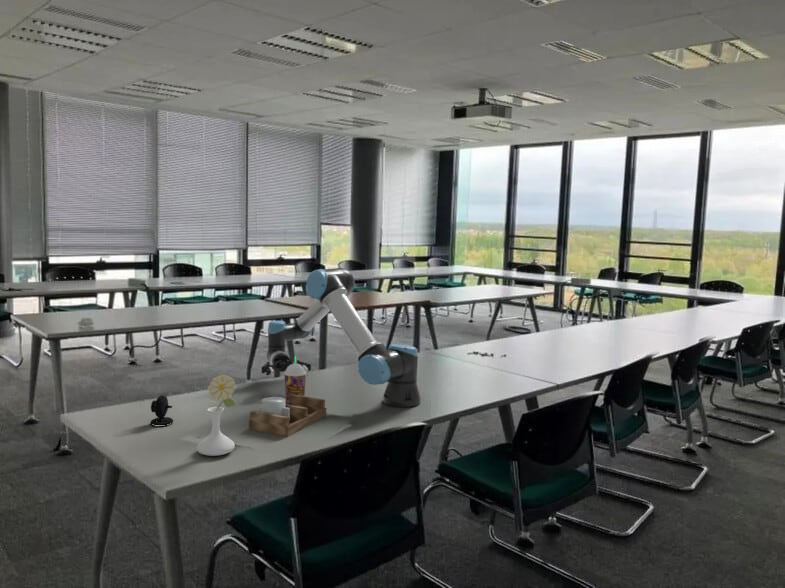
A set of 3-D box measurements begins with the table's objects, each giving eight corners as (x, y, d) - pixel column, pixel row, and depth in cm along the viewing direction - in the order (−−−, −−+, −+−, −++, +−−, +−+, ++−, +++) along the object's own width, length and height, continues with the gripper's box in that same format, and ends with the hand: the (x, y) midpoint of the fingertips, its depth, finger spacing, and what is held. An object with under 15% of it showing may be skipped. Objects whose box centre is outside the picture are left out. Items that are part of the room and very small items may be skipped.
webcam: (155, 419, 222) (155, 392, 221) (176, 420, 222) (176, 393, 220) (146, 427, 214) (145, 398, 213) (168, 427, 214) (167, 399, 213)
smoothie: (287, 411, 234) (288, 359, 232) (281, 405, 242) (281, 355, 239) (309, 409, 238) (309, 357, 236) (301, 403, 245) (302, 353, 243)
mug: (256, 426, 212) (256, 401, 211) (270, 420, 220) (270, 395, 218) (282, 431, 208) (282, 405, 207) (295, 424, 215) (295, 399, 214)
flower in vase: (188, 455, 190) (187, 375, 187) (212, 443, 200) (211, 367, 197) (224, 462, 185) (224, 380, 182) (246, 449, 196) (246, 371, 193)
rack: (326, 419, 226) (326, 399, 225) (288, 440, 204) (288, 418, 203) (289, 413, 233) (289, 393, 232) (248, 432, 211) (248, 411, 210)
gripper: (309, 368, 272) (320, 380, 252) (251, 371, 263) (258, 384, 244) (309, 351, 271) (321, 362, 251) (251, 354, 262) (258, 365, 243)
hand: (290, 373), depth 247 cm, fingers open, 13 cm apart
